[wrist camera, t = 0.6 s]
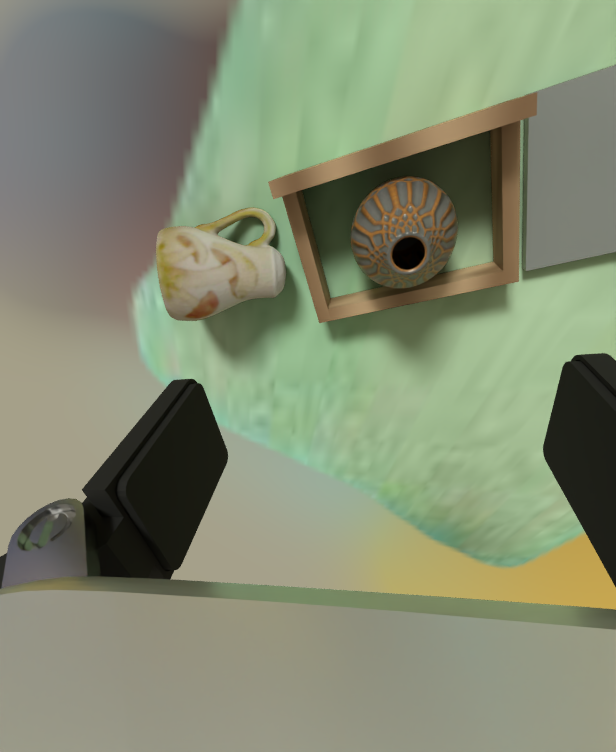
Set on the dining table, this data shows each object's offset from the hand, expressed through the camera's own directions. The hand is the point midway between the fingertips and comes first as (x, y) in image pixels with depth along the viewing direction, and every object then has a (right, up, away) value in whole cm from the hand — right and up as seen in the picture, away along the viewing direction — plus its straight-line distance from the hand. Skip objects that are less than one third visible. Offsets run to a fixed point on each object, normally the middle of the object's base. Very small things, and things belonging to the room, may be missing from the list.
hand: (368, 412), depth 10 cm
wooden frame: (+5, +12, +17) cm, 22 cm away
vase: (+5, +13, +18) cm, 22 cm away
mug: (-8, +11, +21) cm, 25 cm away
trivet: (+19, +15, +14) cm, 27 cm away
